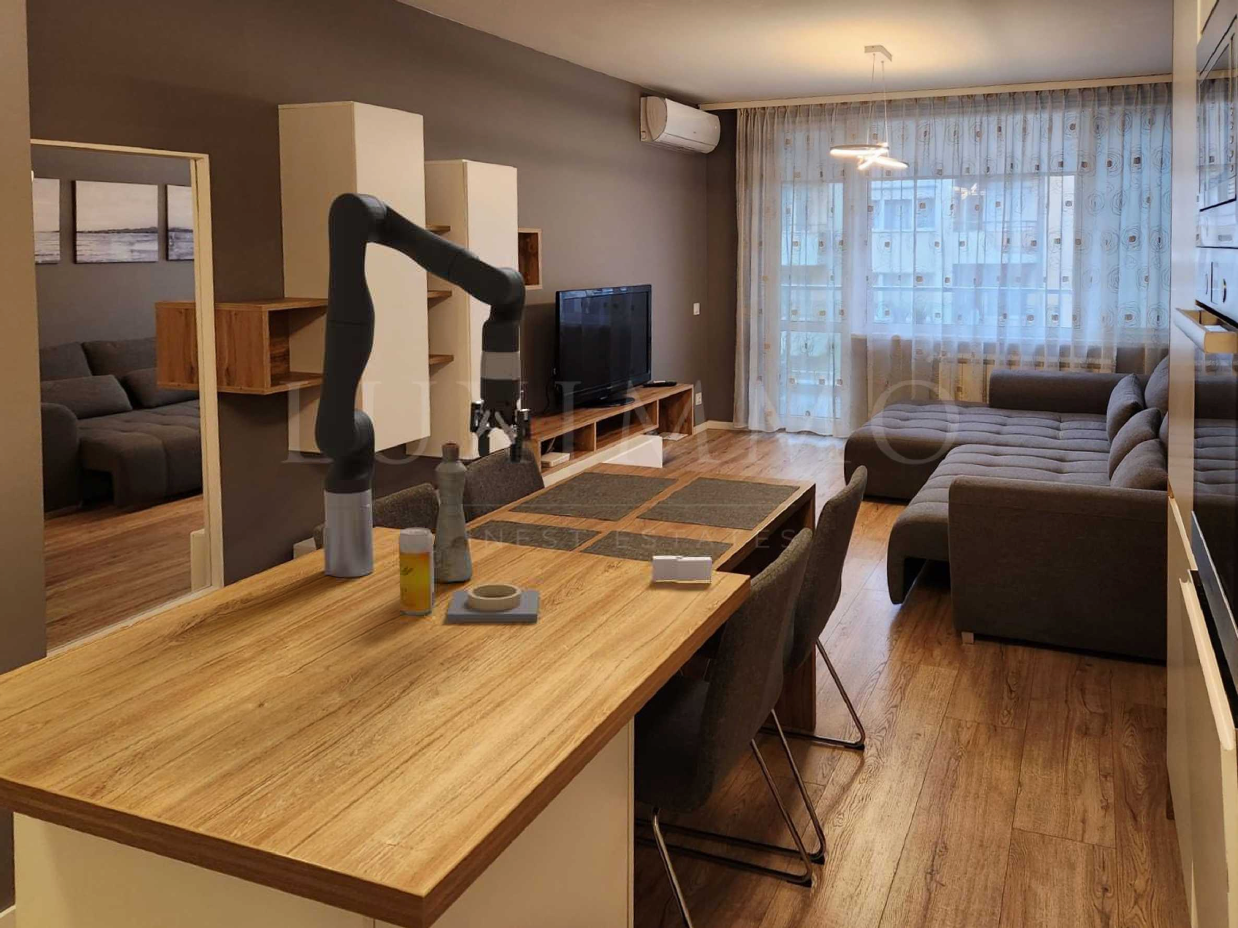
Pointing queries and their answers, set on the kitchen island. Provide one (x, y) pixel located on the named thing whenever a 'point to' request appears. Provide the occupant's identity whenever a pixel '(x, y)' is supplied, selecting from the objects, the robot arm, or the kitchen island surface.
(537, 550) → the kitchen island surface
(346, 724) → the kitchen island surface
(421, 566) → the beer can
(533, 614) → the socket board
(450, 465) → the bottle
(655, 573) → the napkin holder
